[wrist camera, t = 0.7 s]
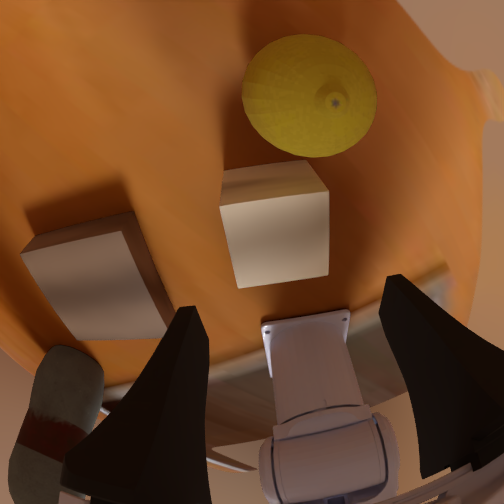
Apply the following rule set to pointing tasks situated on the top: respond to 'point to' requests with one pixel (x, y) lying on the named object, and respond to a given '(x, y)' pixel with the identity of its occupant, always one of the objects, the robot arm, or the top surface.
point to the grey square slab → (101, 279)
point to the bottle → (54, 424)
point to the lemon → (309, 95)
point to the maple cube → (276, 222)
